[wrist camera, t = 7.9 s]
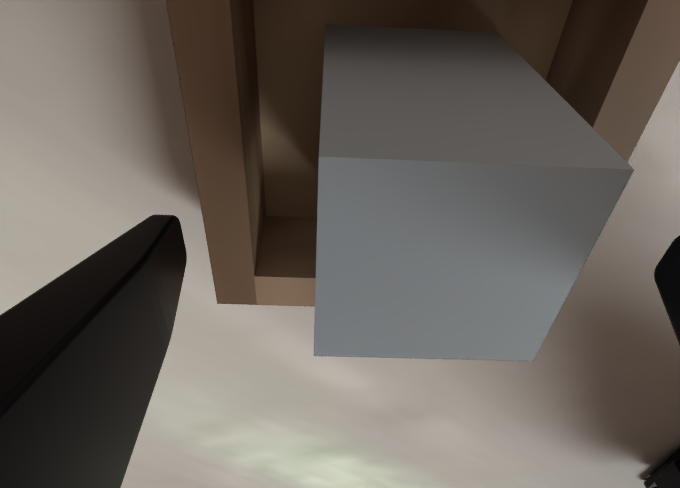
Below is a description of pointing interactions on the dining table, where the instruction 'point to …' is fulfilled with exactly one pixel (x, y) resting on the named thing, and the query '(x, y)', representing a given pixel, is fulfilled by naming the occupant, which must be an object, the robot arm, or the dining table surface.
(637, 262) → the dining table surface
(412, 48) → the grey rectangular box
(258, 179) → the wooden tray
